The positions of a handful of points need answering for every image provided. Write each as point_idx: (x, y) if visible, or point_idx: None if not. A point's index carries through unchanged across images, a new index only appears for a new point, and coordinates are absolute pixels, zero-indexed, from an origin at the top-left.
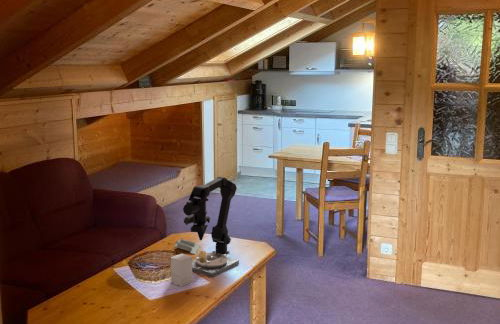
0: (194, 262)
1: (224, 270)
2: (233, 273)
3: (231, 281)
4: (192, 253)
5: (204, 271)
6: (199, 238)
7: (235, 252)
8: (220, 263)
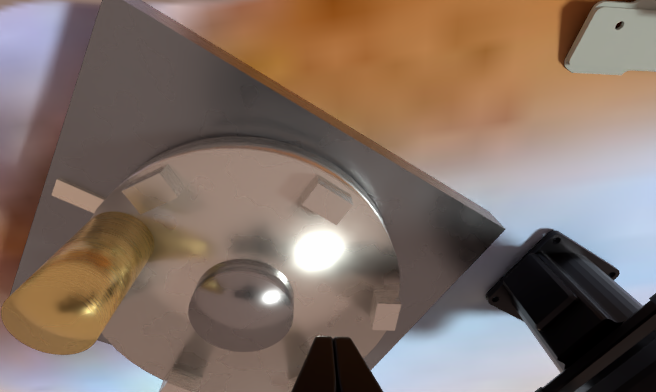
0: (217, 122)
1: None
2: (154, 382)
3: (15, 387)
4: (580, 35)
5: (29, 242)
6: (302, 366)
7: (544, 355)
8: (151, 366)
